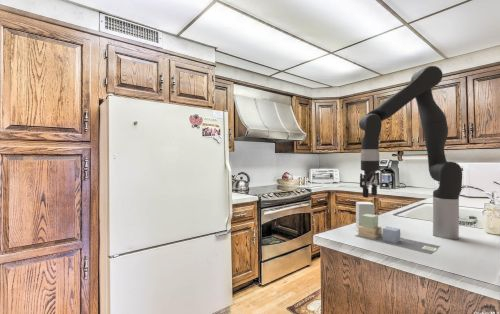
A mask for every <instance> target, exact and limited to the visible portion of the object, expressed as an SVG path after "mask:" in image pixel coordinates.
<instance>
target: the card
mask: <svg viewBox="0 0 500 314" xmlns="http://www.w3.org/2000/svg"><path fill="white" fill-rule="evenodd" d="M422 249H424V250H428V251H433V253H435V252H436V251H437V250H438V249H437V248H433V247H428V246H424V247H422ZM435 250H436V251H435Z"/></svg>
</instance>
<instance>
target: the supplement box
mask: <svg viewBox="0 0 500 314" xmlns="http://www.w3.org/2000/svg"><path fill="white" fill-rule="evenodd" d="M375 209H376V208H375V204H374V203H373V202H371V201H356V202H355V226H356V228H357V230H359V226H361V225H362V215H365V214H372V215H376V214H375V211H376V210H375Z"/></svg>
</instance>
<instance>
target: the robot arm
mask: <svg viewBox="0 0 500 314" xmlns="http://www.w3.org/2000/svg"><path fill="white" fill-rule="evenodd" d="M442 80H443V71H442V69H441V68H440V67H438V66H436V65H429V66H425V67H423V68H421V69H420V70H418V71H416V72H414V73H413V74H412V76H411V78H410V83H409V84H407V85H406V86H405V87H403V88H402V89H400V90H399V91H397V92H395V93H393V94H392V95H391V96H389V97H388V98H386V99H385V100H384V101H383V102H382V103H381V102H380V104H379V105H378V106H377V107H376V108H374V109H373V110H371V111H369V112H367V113H366V114H364V116H362V117H361V118H360V120H359V122H358V126H359V128H360V129H361V130H362V131H363V132H364V135H363V137H362V138H361V140H360V141H361V142H360V143H361V147H360V148H361V151H360V170H361V171H363V172H364V173H360V175H359V187H360V188H361V189H362V197H363V198H369V194H370V193H369V191H370V190H369V188H370V186H371V196H375V197H376V196H377V195H378V187H379V186H380V172H377V171H380V152H379V151H380V150H379V149H380V148H379V147H380V144H379V142H380V141H379V140H380V135H381V131H382V122H384V121H385V120H387V119H389V118H392V116H394V115H395V114H396V113H398V112H399V111H400V110H401V109H403V108H404V107H405V106H406V105H408V104H409V103H410V102H411V101H413V100H414V99H415V101H416V105H417V108H418V114H419V118H420V124H421V129H422V134H423V137H424V143H425V148H426V154H427V161H428V162H427V163H428V166H427V167H428V173H429V176H430V177H431V179H432V180H434V181H437V182H439V185H438V188H437V189H435V190H433V192H432V236H434V237H436V238H440V239H445V240H446V239H447V240H451V241H452V240H453V241H454V240H455V241H456V240H458V239H459V236H460V194H461V193H462V186H463V170H462V167H461V166H460V164H458V163H457V162H455V161H447V159H446V153H445V145H446V142H447V139H448V135H449V126H448V122H447V118H446V117H447V116H446V114H445V113H444V111H443V110H442V109H441V107H439V105H438V104H437V103H436V101H435V99H434V95H433V91H432V88H435V87H436V86H437V85H439V84H440V83H441V81H442Z"/></svg>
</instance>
